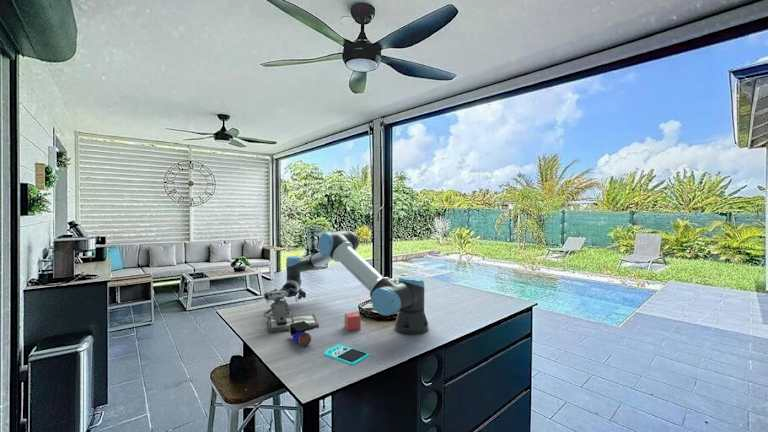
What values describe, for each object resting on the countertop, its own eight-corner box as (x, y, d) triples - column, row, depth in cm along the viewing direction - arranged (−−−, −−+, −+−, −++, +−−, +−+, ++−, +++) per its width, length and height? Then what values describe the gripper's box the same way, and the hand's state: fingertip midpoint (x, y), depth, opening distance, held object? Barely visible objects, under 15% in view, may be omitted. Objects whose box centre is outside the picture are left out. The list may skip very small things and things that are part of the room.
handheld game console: (339, 346, 139) (339, 343, 139) (370, 356, 130) (370, 353, 130) (321, 355, 131) (321, 352, 131) (353, 367, 122) (353, 363, 122)
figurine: (262, 321, 162) (262, 290, 162) (288, 318, 167) (287, 287, 166) (263, 328, 154) (262, 295, 153) (290, 324, 158) (289, 292, 158)
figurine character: (287, 340, 148) (298, 349, 135) (286, 322, 148) (297, 329, 136) (302, 336, 152) (315, 345, 139) (301, 319, 152) (314, 325, 139)
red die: (360, 329, 156) (360, 315, 156) (347, 330, 154) (347, 317, 154) (357, 324, 162) (357, 311, 162) (344, 326, 160) (344, 313, 160)
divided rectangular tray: (318, 327, 159) (318, 323, 159) (268, 333, 152) (268, 329, 152) (314, 316, 174) (314, 313, 174) (268, 321, 167) (268, 318, 167)
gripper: (313, 294, 186) (308, 307, 165) (266, 296, 184) (254, 308, 163) (313, 281, 186) (308, 291, 165) (266, 282, 184) (254, 292, 163)
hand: (281, 300), depth 164 cm, fingers open, 13 cm apart
